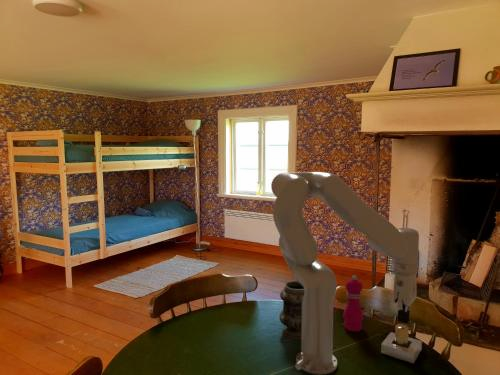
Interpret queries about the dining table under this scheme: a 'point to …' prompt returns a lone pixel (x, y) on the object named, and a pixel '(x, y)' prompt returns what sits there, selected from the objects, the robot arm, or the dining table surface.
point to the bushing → (401, 335)
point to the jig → (401, 348)
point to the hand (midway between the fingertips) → (403, 321)
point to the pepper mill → (353, 305)
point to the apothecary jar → (292, 309)
